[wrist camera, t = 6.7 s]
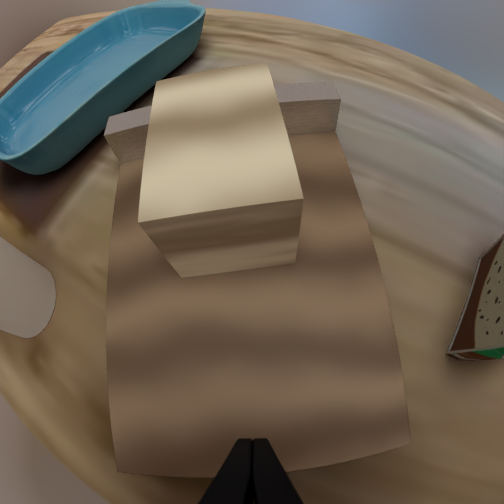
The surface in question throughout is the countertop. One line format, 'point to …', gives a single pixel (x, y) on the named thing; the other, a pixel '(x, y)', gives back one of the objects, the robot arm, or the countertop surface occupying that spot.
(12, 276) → the cylindrical container
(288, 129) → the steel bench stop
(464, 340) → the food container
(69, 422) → the countertop surface
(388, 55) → the countertop surface
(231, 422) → the walnut board
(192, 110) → the maple block
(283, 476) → the robot arm
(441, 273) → the countertop surface
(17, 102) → the casserole dish
